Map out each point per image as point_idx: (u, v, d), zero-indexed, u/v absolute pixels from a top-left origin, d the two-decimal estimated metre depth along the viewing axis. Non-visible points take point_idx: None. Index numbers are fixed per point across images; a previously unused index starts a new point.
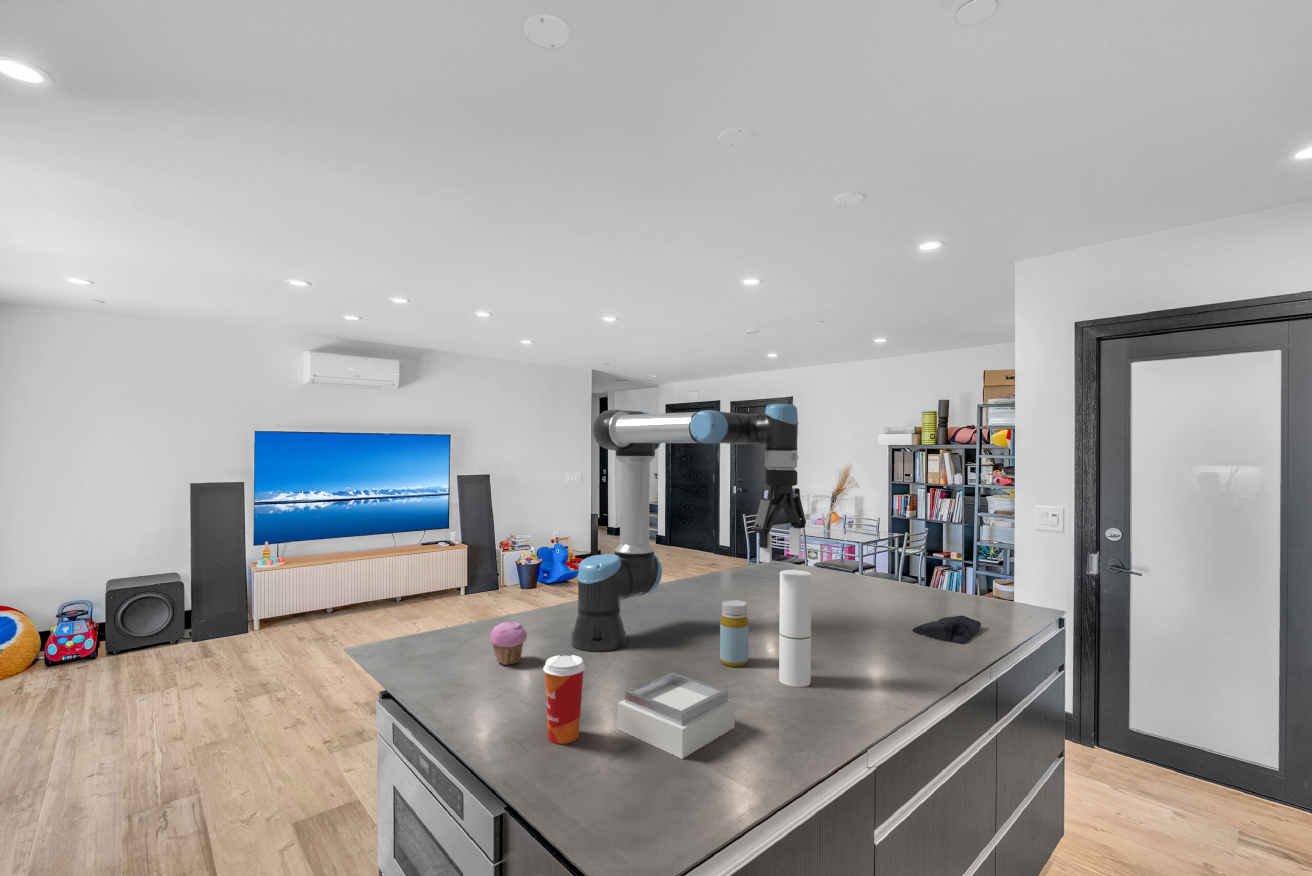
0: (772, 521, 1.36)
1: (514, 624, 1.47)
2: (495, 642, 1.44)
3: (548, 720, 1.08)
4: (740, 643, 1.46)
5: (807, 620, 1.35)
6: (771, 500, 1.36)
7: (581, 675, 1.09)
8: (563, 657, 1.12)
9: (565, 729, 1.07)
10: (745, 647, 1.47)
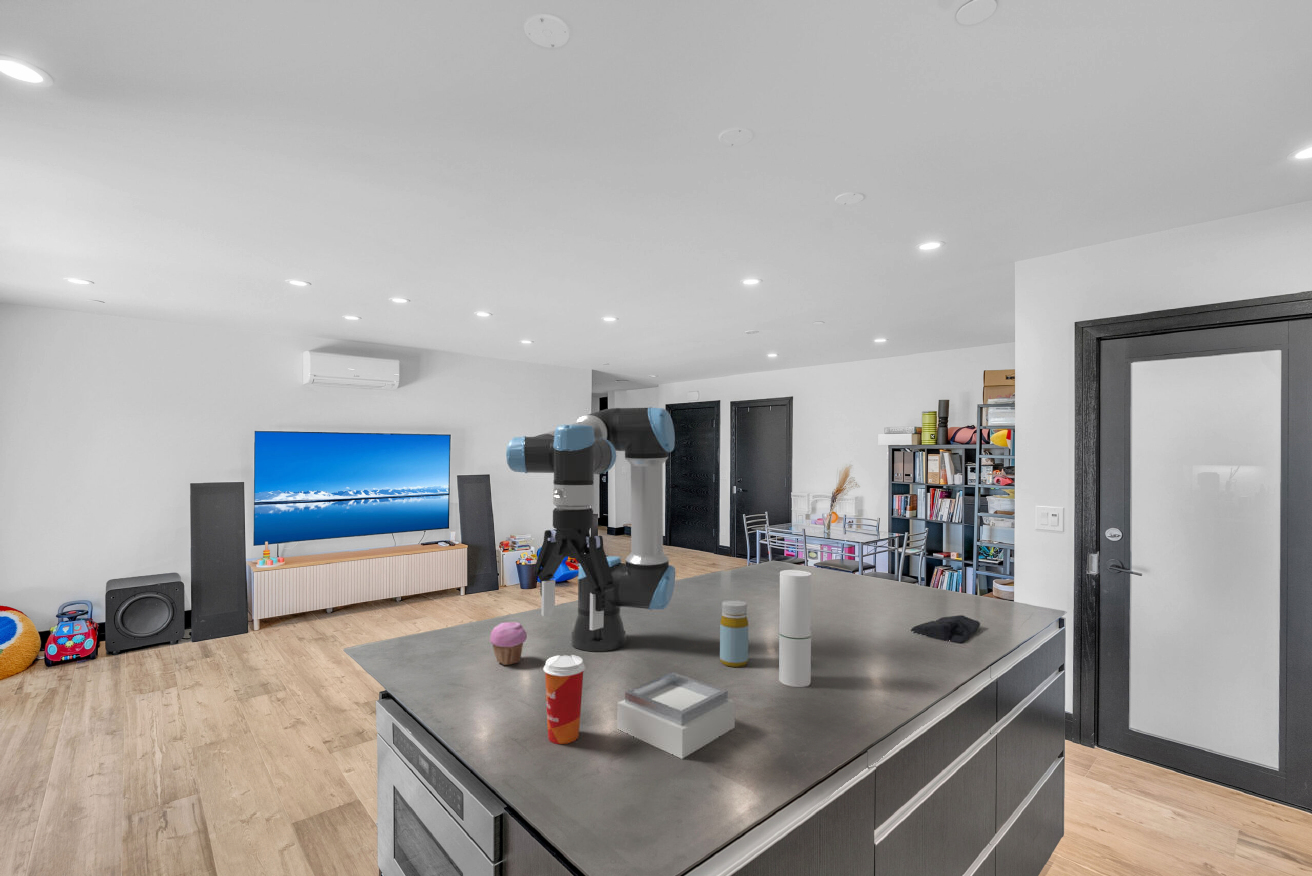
0: (547, 567, 1.14)
1: (514, 624, 1.47)
2: (495, 642, 1.44)
3: (548, 720, 1.08)
4: (740, 643, 1.46)
5: (807, 620, 1.35)
6: (545, 542, 1.14)
7: (581, 675, 1.09)
8: (563, 657, 1.12)
9: (566, 729, 1.07)
10: (745, 647, 1.47)
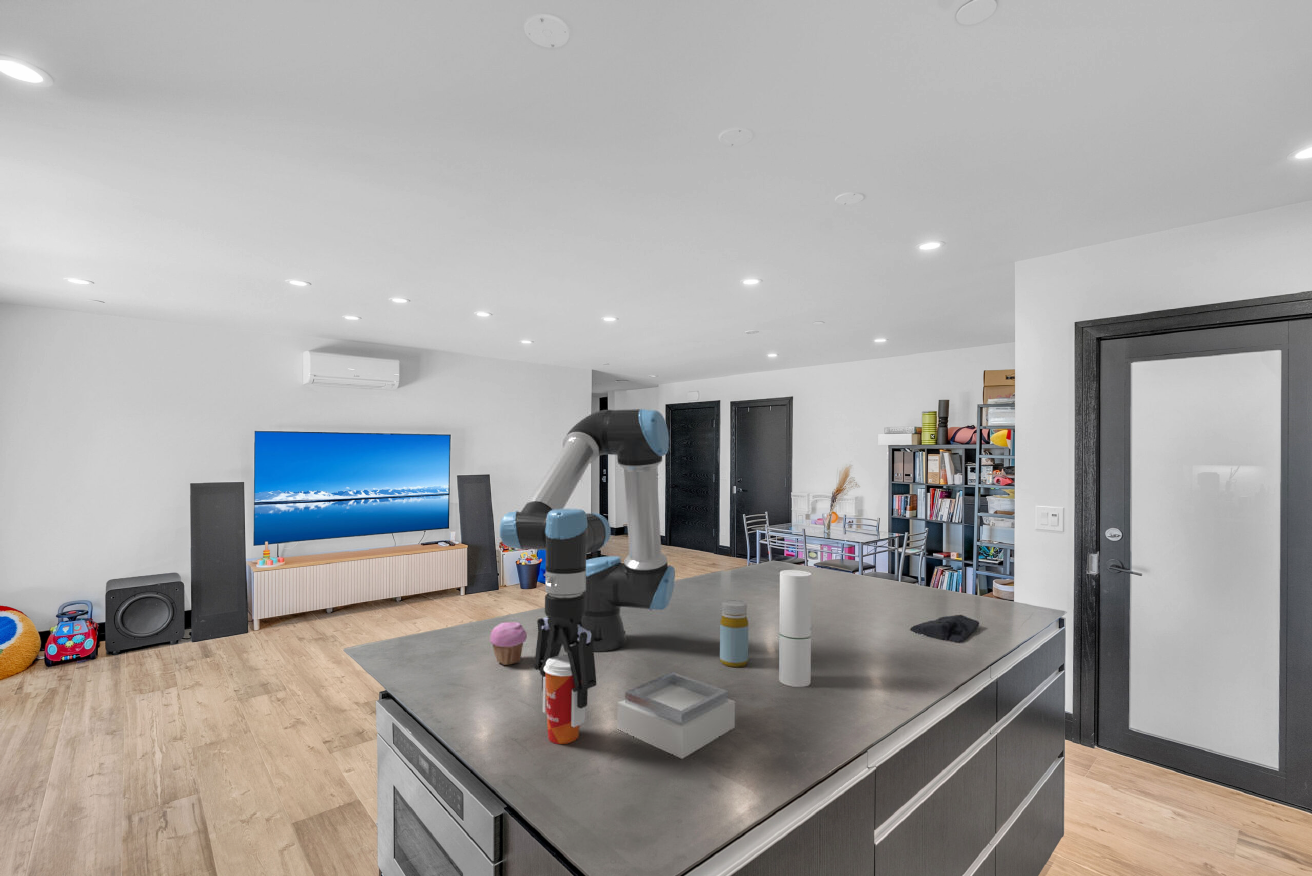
0: (546, 660, 1.12)
1: (514, 624, 1.47)
2: (495, 642, 1.44)
3: (548, 720, 1.08)
4: (740, 643, 1.46)
5: (807, 620, 1.35)
6: (540, 631, 1.13)
7: None
8: (563, 657, 1.12)
9: (566, 729, 1.07)
10: (745, 647, 1.47)
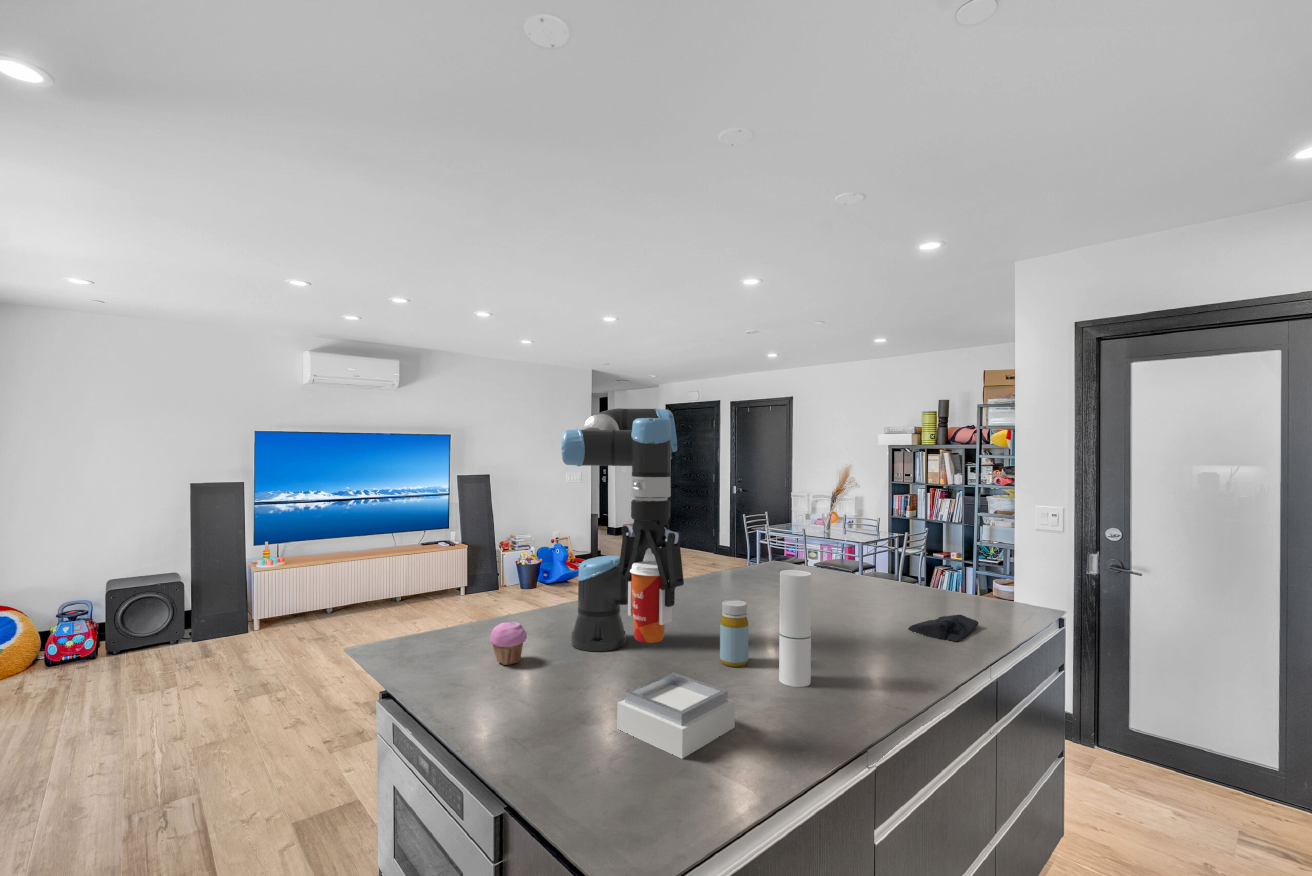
0: (631, 565, 1.15)
1: (514, 624, 1.47)
2: (495, 642, 1.44)
3: (635, 620, 1.11)
4: (740, 643, 1.46)
5: (807, 620, 1.35)
6: (624, 538, 1.16)
7: None
8: (648, 562, 1.15)
9: (653, 628, 1.10)
10: (745, 647, 1.47)
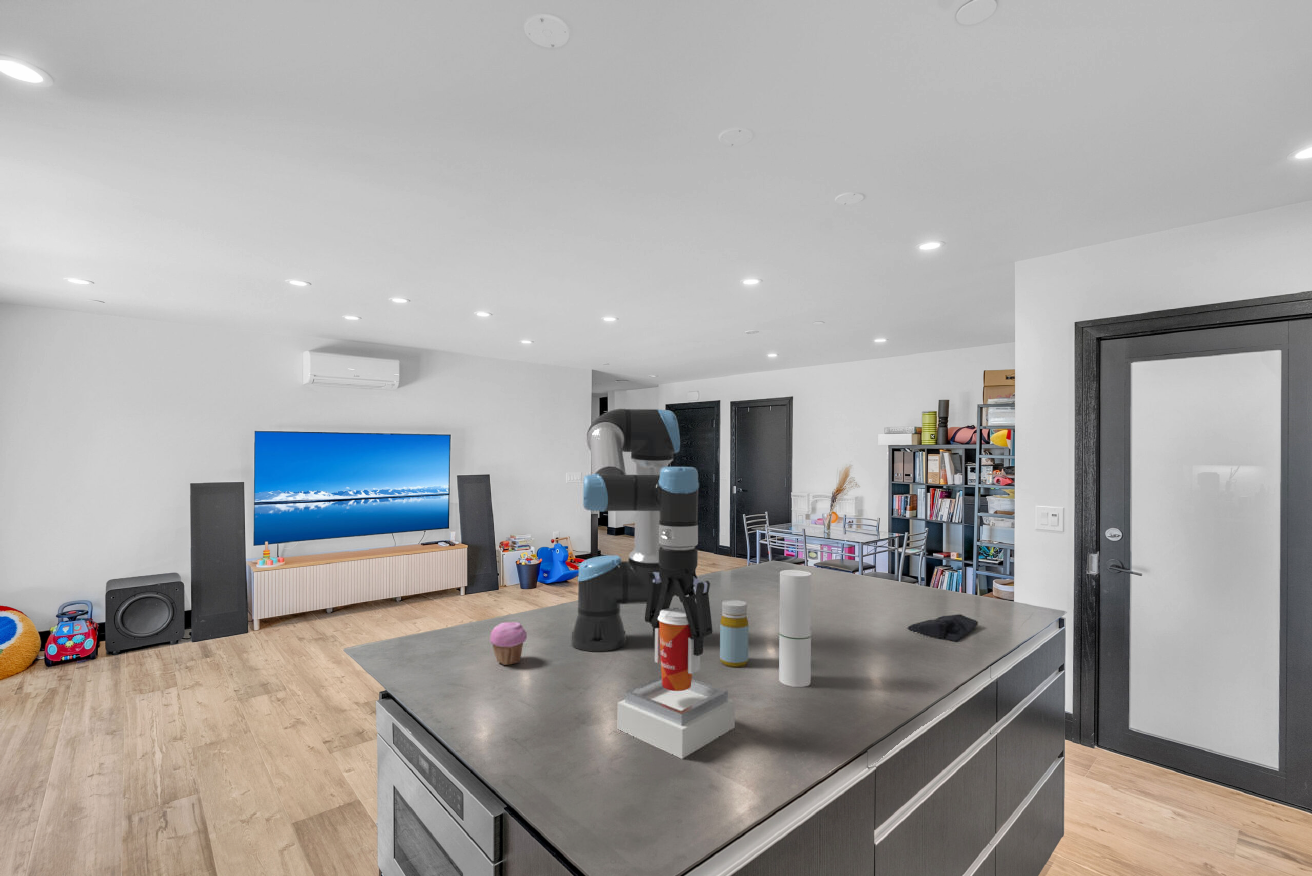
0: (658, 612, 1.16)
1: (514, 624, 1.47)
2: (495, 642, 1.44)
3: (663, 668, 1.12)
4: (740, 643, 1.46)
5: (807, 620, 1.35)
6: (651, 584, 1.17)
7: None
8: (674, 609, 1.16)
9: (681, 676, 1.11)
10: (745, 647, 1.47)
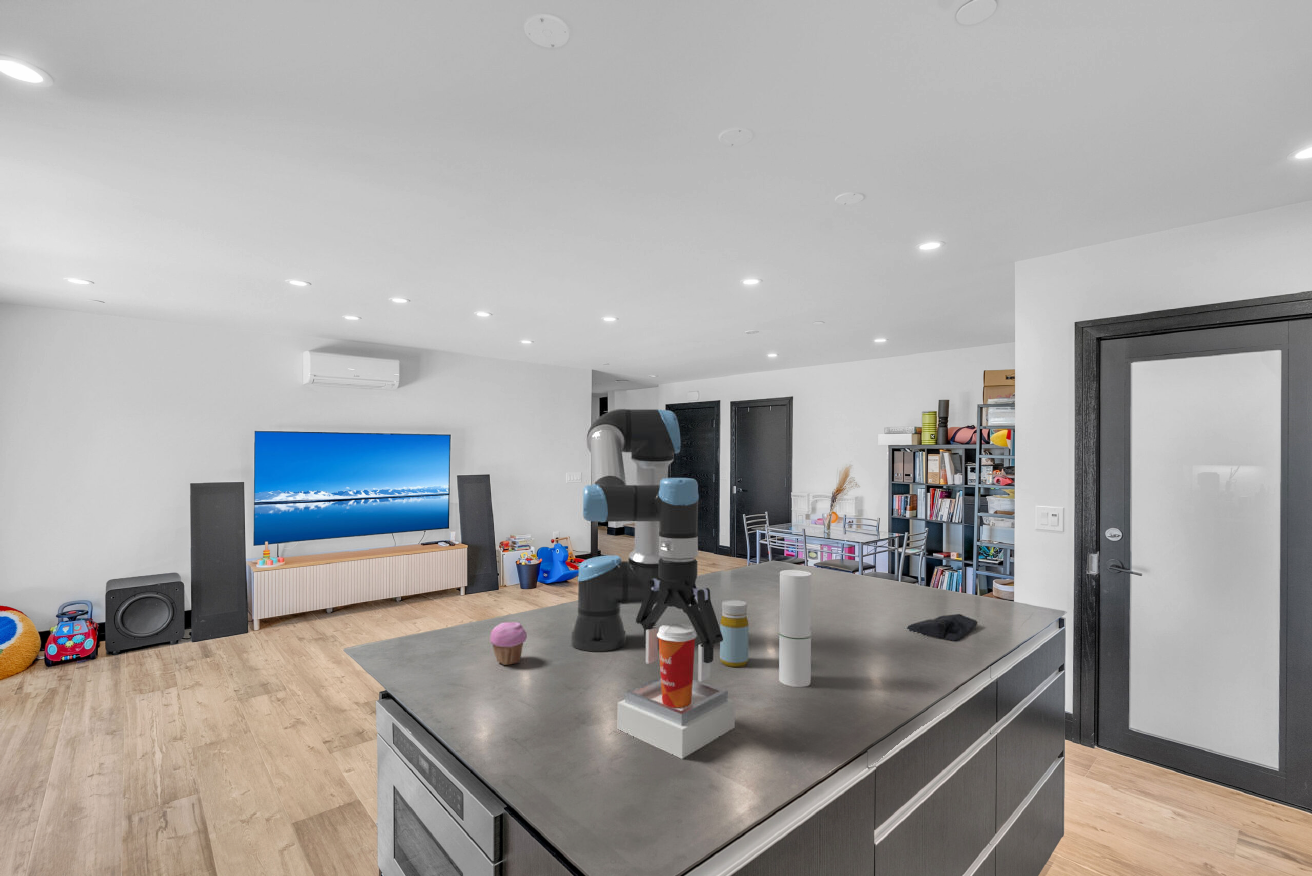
0: (651, 616, 1.17)
1: (514, 624, 1.47)
2: (495, 642, 1.44)
3: (663, 685, 1.12)
4: (740, 643, 1.46)
5: (807, 620, 1.35)
6: (649, 591, 1.17)
7: (694, 641, 1.13)
8: (674, 625, 1.16)
9: (681, 693, 1.11)
10: (745, 647, 1.47)
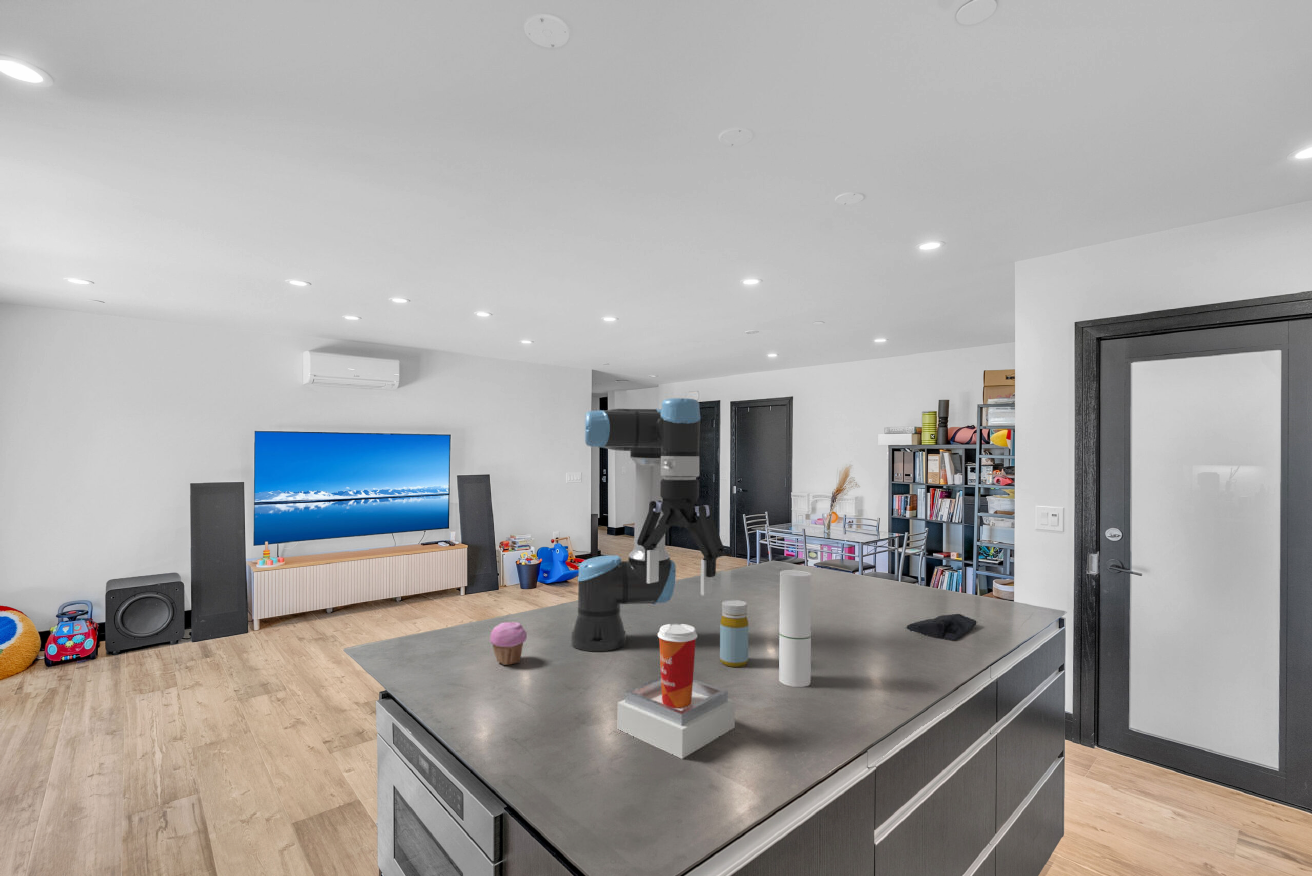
0: (652, 537, 1.18)
1: (514, 624, 1.47)
2: (495, 642, 1.44)
3: (663, 685, 1.12)
4: (740, 643, 1.46)
5: (807, 620, 1.35)
6: (651, 512, 1.18)
7: (694, 642, 1.13)
8: (674, 625, 1.16)
9: (682, 693, 1.11)
10: (745, 647, 1.47)
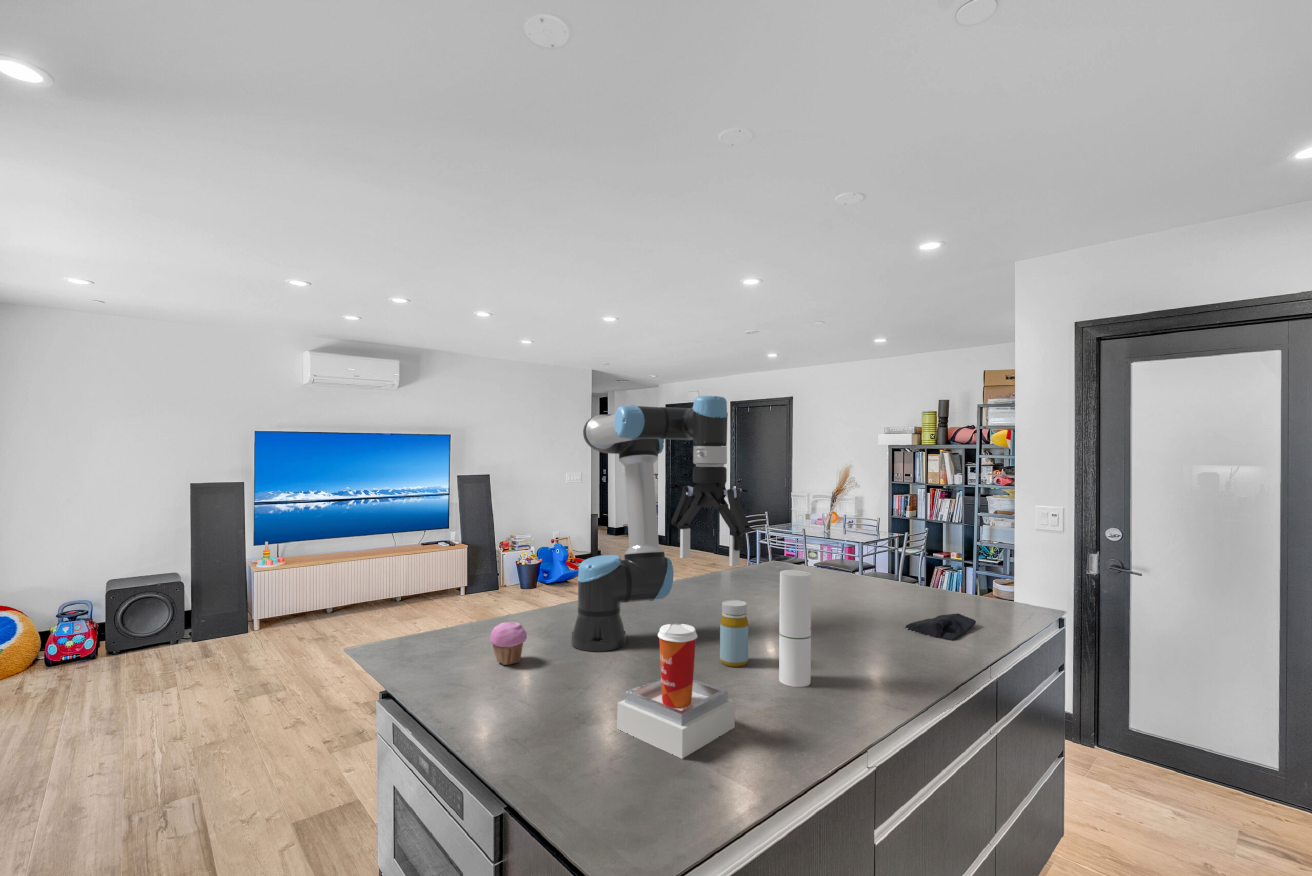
0: (685, 517, 1.35)
1: (514, 624, 1.47)
2: (495, 642, 1.44)
3: (663, 685, 1.12)
4: (740, 643, 1.46)
5: (807, 620, 1.35)
6: (683, 496, 1.35)
7: (695, 642, 1.13)
8: (674, 625, 1.16)
9: (682, 693, 1.11)
10: (745, 647, 1.47)
